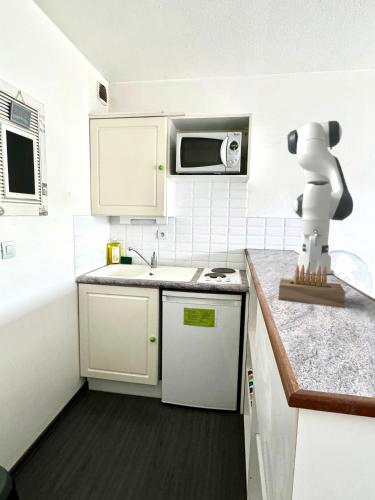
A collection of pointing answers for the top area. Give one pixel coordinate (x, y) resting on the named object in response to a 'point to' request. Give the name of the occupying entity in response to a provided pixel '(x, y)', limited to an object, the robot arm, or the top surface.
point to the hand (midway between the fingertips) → (311, 269)
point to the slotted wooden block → (312, 293)
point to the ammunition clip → (313, 277)
